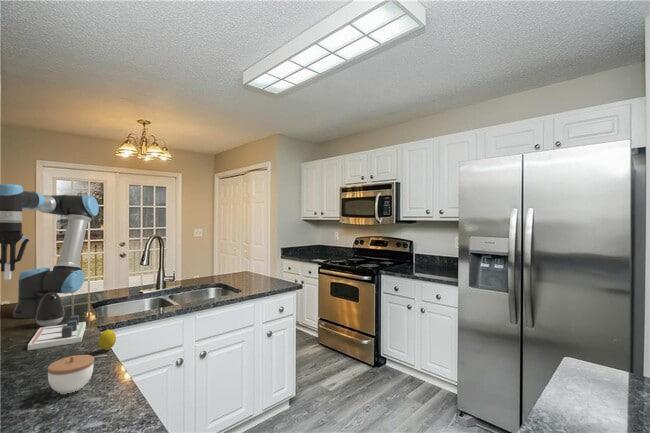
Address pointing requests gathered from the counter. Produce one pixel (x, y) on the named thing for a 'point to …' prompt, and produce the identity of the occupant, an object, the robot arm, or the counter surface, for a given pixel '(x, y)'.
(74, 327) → the block
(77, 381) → the lidded jar
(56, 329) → the breaker panel
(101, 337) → the lemon
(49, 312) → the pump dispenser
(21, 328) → the counter surface
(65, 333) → the switch
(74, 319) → the block
